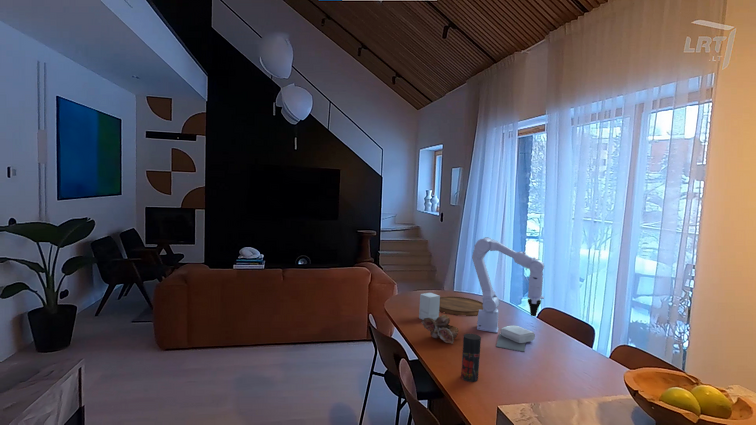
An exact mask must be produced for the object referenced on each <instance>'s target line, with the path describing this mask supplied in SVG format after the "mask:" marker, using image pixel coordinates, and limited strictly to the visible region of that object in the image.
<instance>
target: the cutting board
mask: <svg viewBox="0 0 756 425" xmlns="http://www.w3.org/2000/svg"><path fill="white" fill-rule="evenodd" d="M479 310H483V301H479V300H477V299H473V298H468V297H463V296H452V295H451V296H450V295H449V296H440V304H439V312H440V311H442V312H441V313H443V312H445V313H444V314H447V313H450V314H449V315H451V314H455V315H454V316H458V315H466V316H465V317H478V316H477V315H478V312H479Z"/></svg>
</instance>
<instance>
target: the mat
mask: <svg viewBox="0 0 756 425" xmlns="http://www.w3.org/2000/svg"><path fill="white" fill-rule="evenodd" d="M495 347H496V348H499V349H505V350H510V351H517V352H521V353H525V351H526V342H525V343H518V342H515V341H513V340H511V339H508V338H506V337H504V336H502V335H501V333H499V334H498V337H497V341H496V345H495Z"/></svg>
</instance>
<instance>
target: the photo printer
mask: <svg viewBox="0 0 756 425" xmlns="http://www.w3.org/2000/svg"><path fill="white" fill-rule="evenodd" d="M500 334H501V335H502V336H504V337H506V338H508V339H511V340H513V341H515V342H518V343H525V344H526V343H530V342H533V341H534V340H535V339H536V334H535V332H534V331H531V330H529V329H526V328H523V327H521V326H518V325H508V326H504V327H502V328H501V329H500Z"/></svg>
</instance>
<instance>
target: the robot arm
mask: <svg viewBox="0 0 756 425" xmlns="http://www.w3.org/2000/svg"><path fill="white" fill-rule="evenodd" d="M473 248H474V249H473V252H472V256H471V257H472V263H473V266H474V269H475V272H476V275H477V279H478V282H479V285H480V289H481V291H482V292H481V293H482V294H481V295H482V296H481V297H482V303H483V310H479V312H478V316H477V323H476V324H477V326H476V330H478V331H484V332H490V333H496V334H498V332H499V329H500V327H499V326H498V324H499V312H500V311H499V309H498V308H499V307H500V304H501V301H500V299H499V297H498V296H497V294H496V292H495V291H494V288H493V286H492V282H491V280H490V276H489V273H488V272H489V271H488V269H487V265H486V262H485V257H486V255H487V253H489V251H490V252H495V251H496V252H497V251H498V252H499V253H501V254H503V255H506V256H508V257H510V258H512V259H513V261H514V263H516V264H517V265H519V266H522V267H523V268H525V269H527V270H528V269H529V271H530V272H529V278H528V291H527V303H528V306H529V311H530V312H529V313H530V316H531V317H536V316H537V313H538V310H539V307H540V306H541V304H542V300H544V299H545V296H543V295H542V294H543V279H544V272H543V270H544V269H545V265H544V262H543V261H542V260H541V259H538V258H537V257H535V256H531V255H529V254H528V253H527V252H526V251H515V250H514V249H511V248H510V247H508V246H506V245H505V244H503V243H501V242H500V241H498V240H495V239H493V238H491V237H483V238H480V239H478V240H477V241H476V242H475V244H474V247H473ZM536 258H537V259H536Z"/></svg>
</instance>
